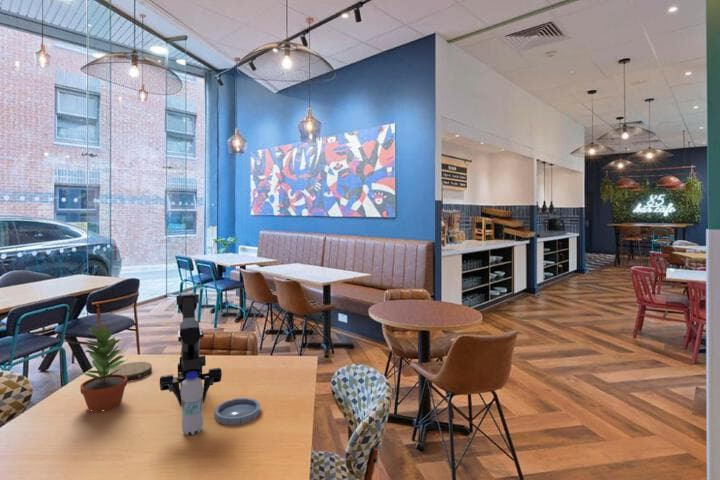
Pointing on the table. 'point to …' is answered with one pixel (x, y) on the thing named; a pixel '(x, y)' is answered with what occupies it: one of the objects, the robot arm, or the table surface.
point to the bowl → (237, 411)
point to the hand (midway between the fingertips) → (192, 404)
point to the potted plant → (103, 373)
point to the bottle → (192, 403)
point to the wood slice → (133, 370)
